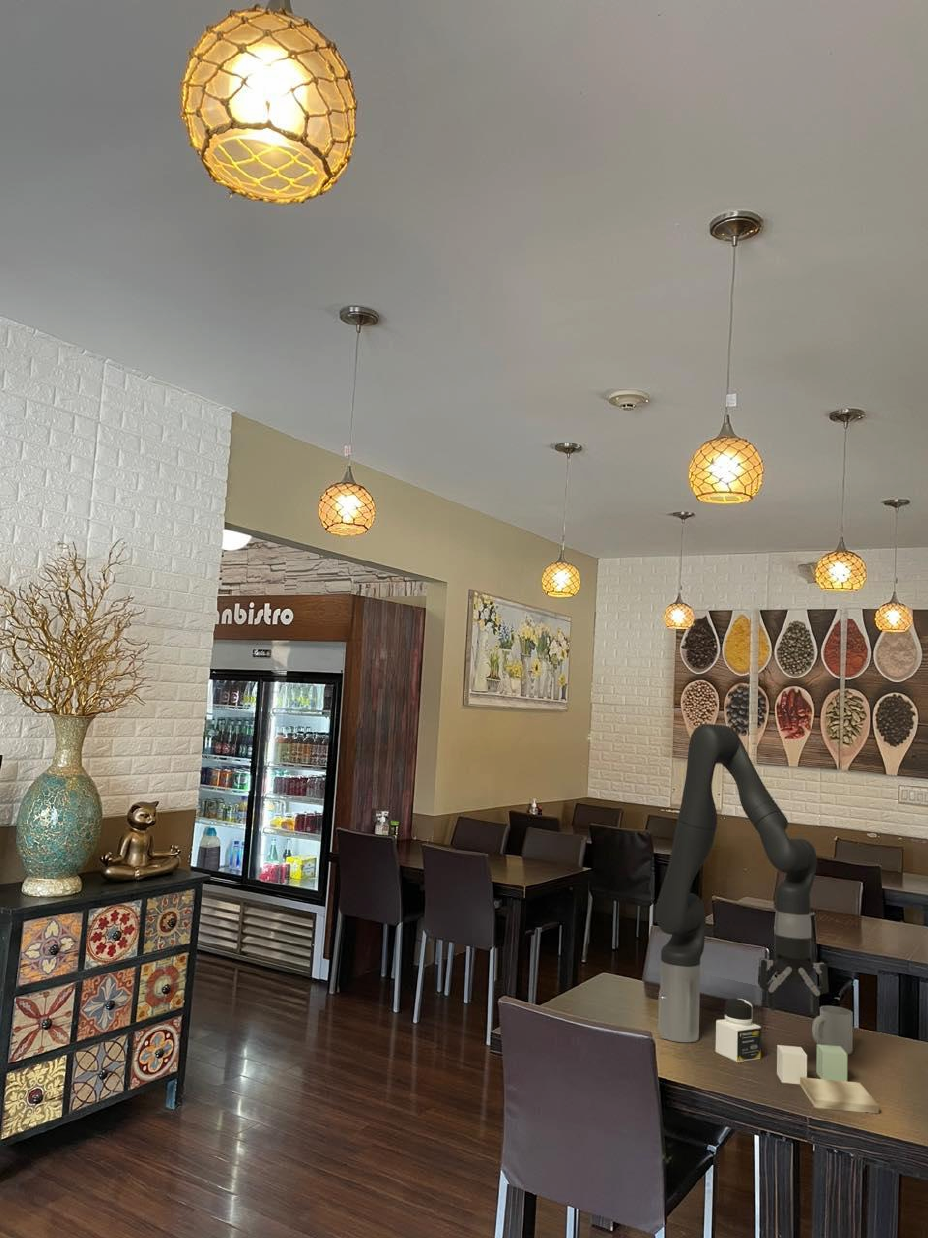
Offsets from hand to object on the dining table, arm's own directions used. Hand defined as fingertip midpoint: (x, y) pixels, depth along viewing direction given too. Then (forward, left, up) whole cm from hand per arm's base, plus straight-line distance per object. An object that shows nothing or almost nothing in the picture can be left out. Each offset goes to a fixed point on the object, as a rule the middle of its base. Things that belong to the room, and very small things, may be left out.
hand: (792, 1011), depth 199 cm
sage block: (+9, +3, -14) cm, 17 cm away
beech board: (+7, -9, -14) cm, 18 cm away
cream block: (0, 0, -14) cm, 14 cm away
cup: (+14, +22, -14) cm, 30 cm away
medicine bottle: (-9, +12, -14) cm, 21 cm away
